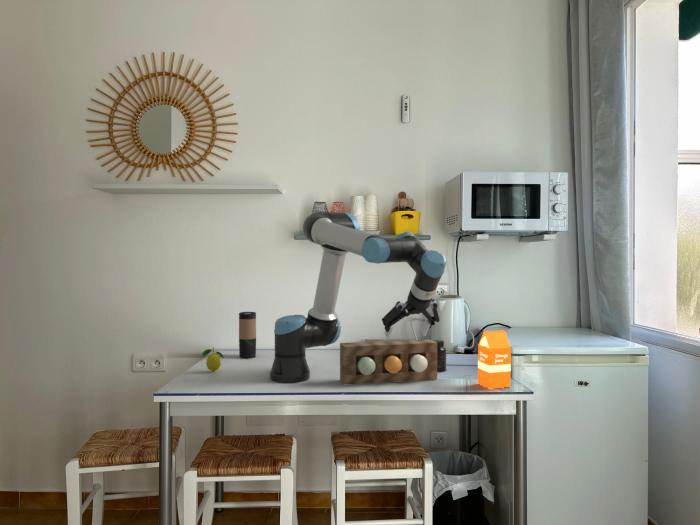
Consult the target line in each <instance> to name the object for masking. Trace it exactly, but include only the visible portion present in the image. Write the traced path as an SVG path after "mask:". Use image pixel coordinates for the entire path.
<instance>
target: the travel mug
mask: <svg viewBox="0 0 700 525" xmlns="http://www.w3.org/2000/svg"><path fill="white" fill-rule="evenodd" d="M238 343H239V344H238V346H239V347H238V348H239V349H238V350H239V358H240V359H246V360H247V359H254V358H256V357H257V356H256V355H257V312H256V311H241V312H239V313H238Z"/></svg>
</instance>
